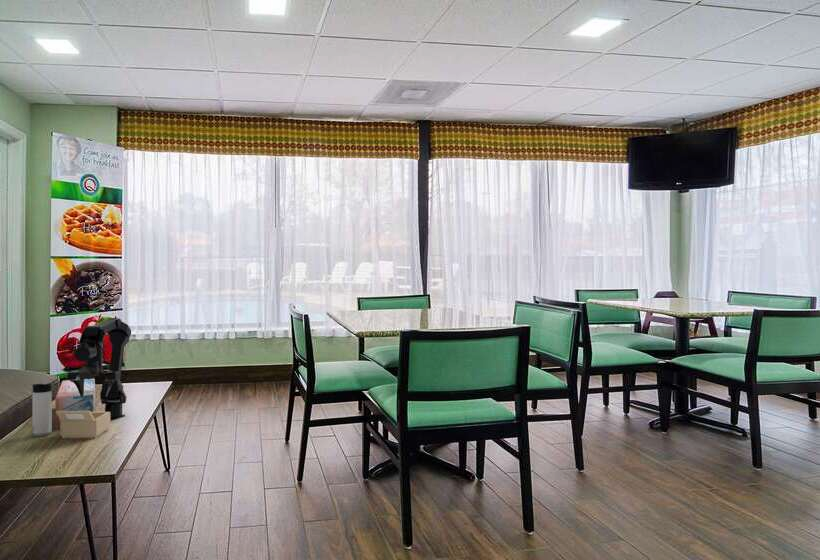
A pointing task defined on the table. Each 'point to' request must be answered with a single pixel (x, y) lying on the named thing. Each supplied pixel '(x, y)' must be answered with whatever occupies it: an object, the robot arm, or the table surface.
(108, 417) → the carton
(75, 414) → the carton flap
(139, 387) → the table surface
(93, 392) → the soda box
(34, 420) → the travel mug
